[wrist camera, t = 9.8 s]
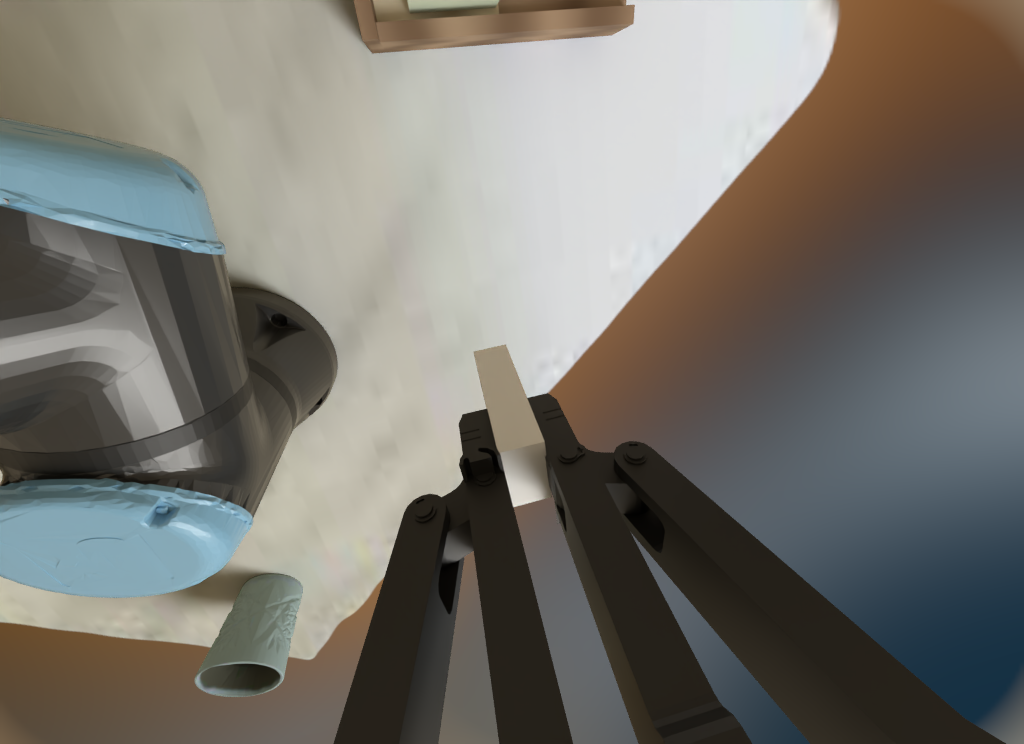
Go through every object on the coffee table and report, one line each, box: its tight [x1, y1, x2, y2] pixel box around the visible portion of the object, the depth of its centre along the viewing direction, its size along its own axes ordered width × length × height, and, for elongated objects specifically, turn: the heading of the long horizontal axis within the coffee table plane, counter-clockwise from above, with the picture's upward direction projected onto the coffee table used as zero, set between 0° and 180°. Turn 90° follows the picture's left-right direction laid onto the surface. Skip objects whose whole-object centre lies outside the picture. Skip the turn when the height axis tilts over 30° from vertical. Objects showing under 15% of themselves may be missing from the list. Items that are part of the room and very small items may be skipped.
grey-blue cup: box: [195, 574, 303, 697], centre depth 55 cm, size 10×10×12 cm
